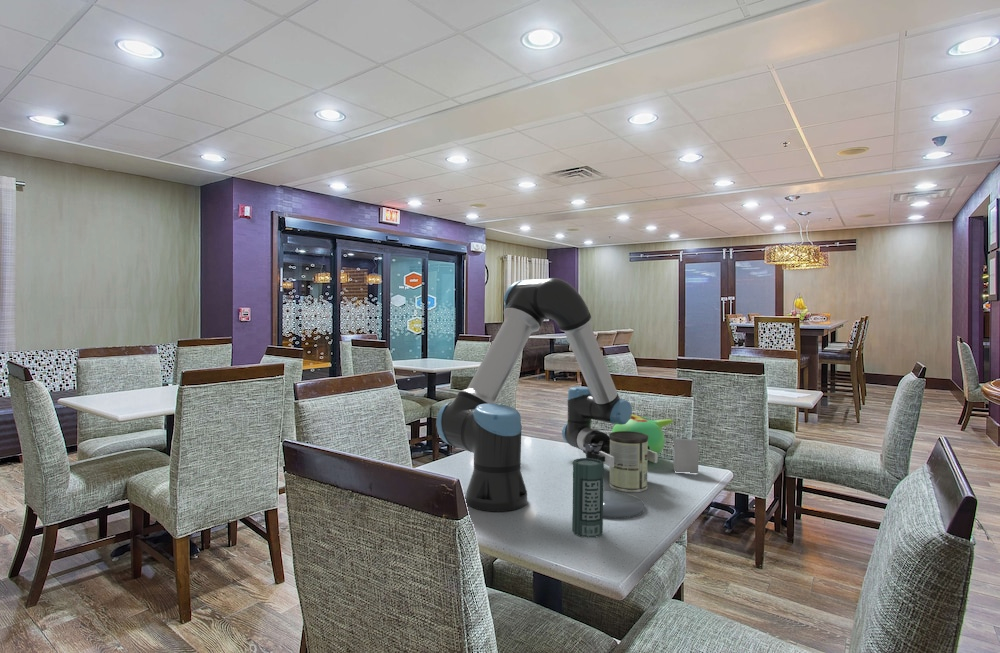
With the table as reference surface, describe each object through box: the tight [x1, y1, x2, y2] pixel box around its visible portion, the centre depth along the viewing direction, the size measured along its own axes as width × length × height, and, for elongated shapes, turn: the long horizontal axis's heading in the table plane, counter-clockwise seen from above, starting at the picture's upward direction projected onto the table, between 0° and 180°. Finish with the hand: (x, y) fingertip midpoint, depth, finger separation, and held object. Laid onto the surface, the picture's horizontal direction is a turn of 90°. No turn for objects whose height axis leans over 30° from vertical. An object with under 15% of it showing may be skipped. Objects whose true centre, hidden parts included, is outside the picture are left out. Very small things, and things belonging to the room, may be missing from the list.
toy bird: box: [611, 414, 674, 455], centre depth 175 cm, size 18×17×15 cm
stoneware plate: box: [603, 490, 645, 520], centre depth 130 cm, size 16×16×1 cm
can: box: [571, 457, 605, 539], centre depth 114 cm, size 6×6×15 cm
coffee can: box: [608, 431, 649, 493], centre depth 145 cm, size 10×10×14 cm
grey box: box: [672, 438, 699, 474], centre depth 159 cm, size 4×7×10 cm, turn 75°
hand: (635, 460), depth 143 cm, fingers open, 13 cm apart
